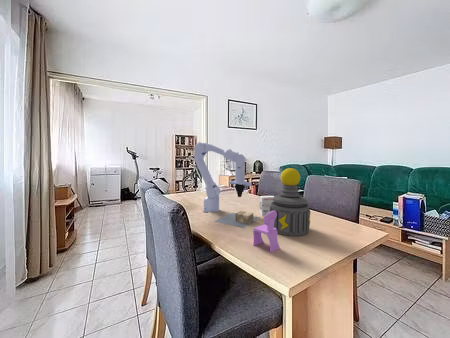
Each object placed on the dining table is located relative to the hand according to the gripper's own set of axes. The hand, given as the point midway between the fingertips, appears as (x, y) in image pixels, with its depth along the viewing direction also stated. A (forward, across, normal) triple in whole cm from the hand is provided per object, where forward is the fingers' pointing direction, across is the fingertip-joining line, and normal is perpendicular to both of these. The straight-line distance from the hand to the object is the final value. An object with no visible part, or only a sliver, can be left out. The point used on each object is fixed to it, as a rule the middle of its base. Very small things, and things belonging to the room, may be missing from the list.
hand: (239, 196), depth 130 cm
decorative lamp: (+11, +33, -10) cm, 36 cm away
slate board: (+10, +6, -13) cm, 18 cm away
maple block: (+7, +6, -13) cm, 16 cm away
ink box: (+11, +16, +5) cm, 20 cm away
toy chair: (+11, +31, -34) cm, 47 cm away
